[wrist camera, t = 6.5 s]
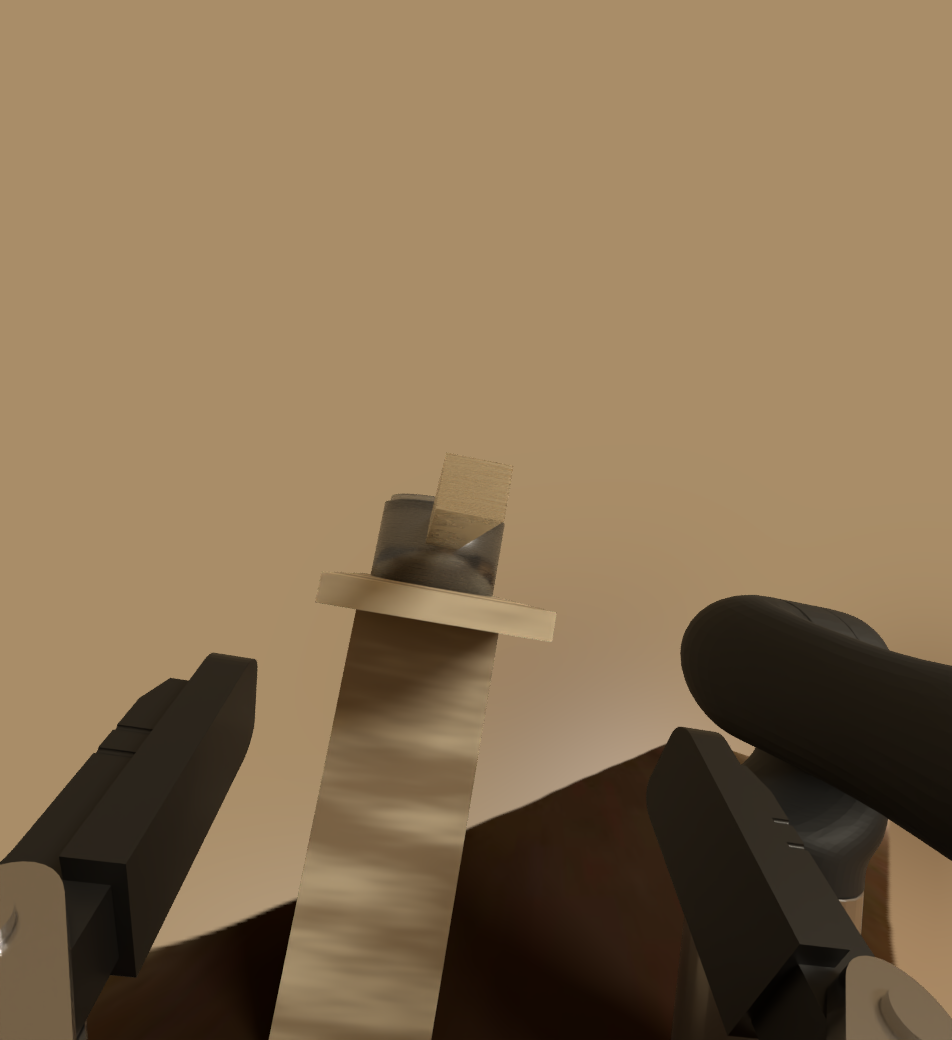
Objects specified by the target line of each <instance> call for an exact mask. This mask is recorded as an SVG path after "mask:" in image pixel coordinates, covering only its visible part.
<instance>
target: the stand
mask: <svg viewBox="0 0 952 1040" xmlns="http://www.w3.org/2000/svg"><path fill="white" fill-rule="evenodd" d="M315 602H316V603H322V604H328V605H334V606H340V607H346V608H352V609H356V613H355V618H354V623H353V628H352V633H351V638H350V643H349V648H348V653H347V658H346V662H345V667H344V672H343V677H342V682H341V687H340V692H339V697H338V702H337V707H336V712H335V717H334V721H333V726H332V731H331V737H330V741H329V746H328V751H327V756H326V761H325V766H324V771H323V776H322V781H321V786H320V790H319V795H318V800H317V805H316V810H315V815H314V820H313V825H312V830H311V835H310V839H309V844H308V849H307V854H306V859H305V864H304V869H303V874H302V879H301V884H300V889H299V893H298V898H297V903H296V908H295V913H294V918H293V923H292V928H291V933H290V938H289V943H288V948H287V952H286V957H285V962H284V967H283V972H282V977H281V982H280V987H279V992H278V997H277V1002H276V1007H275V1011H274V1016H273V1021H272V1026H271V1031H270V1036H269V1040H431V1037H432V1031H433V1025H434V1019H435V1013H436V1007H437V1001H438V995H439V989H440V983H441V977H442V971H443V965H444V959H445V953H446V947H447V941H448V935H449V929H450V923H451V917H452V911H453V904H454V898H455V892H456V886H457V880H458V874H459V868H460V862H461V856H462V850H463V844H464V838H465V832H466V826H467V820H468V814H469V808H470V802H471V795H472V789H473V784H474V778H475V772H476V766H477V760H478V753H479V748H480V741H481V736H482V730H483V724H484V717H485V711H486V705H487V699H488V693H489V687H490V681H491V675H492V669H493V663H494V657H495V651H496V645H497V639H498V633H501V634H507V635H513V636H519V637H524V638H531V639H536V640H542V641H548V642H552V639H553V633H554V626H555V620H556V613H555V612H552V611H548V610H544V609H540V608H537V607H533V606H529V605H525V604H522V603H518V602H514V601H510V600H507V599H503V598H499V597H495V596H492V597H488V596H481V595H475V594H469V593H463V592H457V591H451V590H445V589H439V588H433V587H428V586H422V585H417V584H411V583H406V582H400V581H395V580H389V579H384V578H379V577H374V576H371V574H365V573H337V572H322V573H321V578H320V582H319V587H318V592H317V596H316V601H315Z"/></svg>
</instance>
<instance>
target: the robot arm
mask: <svg viewBox="0 0 952 1040" xmlns="http://www.w3.org/2000/svg"><path fill="white" fill-rule="evenodd" d="M680 654H681V666H682V670H683V674H684V677H685V681H686V683H687V685H688V688H689V690H690V692H691V694H692V696H693V697H694V699H695V701H696V702H697V704H698V705H699V706H700V708H701V709H702V710H703V711H704V712H705V714H706V715H707V716H708V717H709V718H710V719H711V720H712V721H713V722H714V723H715V724H716V725H717V726H719V727H720V728H721V729H723V730H724V731H726V732H727V733H729V734H731V735H732V736H734V737H736V738H738V739H740V740H742V741H744V742H746V743H748V744H750V745H752V746H754V747H756V748H755V750H754V751H753V753H752V754H751V755H750V757H749V758H748V759H747V760H746V761H745V762H744V763H743V764H741V765H740V763H739V761H738V760H737V758H736V756H735V755H734V753H733V751H732V750H731V748H730V746H729V745H728V743H727V741H726V740H725V738H724V737H723V736H722V735H721V734H719V733H716V732H711V731H705V730H698V729H692V728H685V727H678V728H676V729H675V730H674V731H673V732H672V734H671V736H670V738H669V740H668V742H667V744H666V746H665V748H664V750H663V752H662V754H661V757H660V759H659V761H658V763H657V765H656V767H655V769H654V771H653V773H652V775H651V777H650V779H649V782H648V786H647V794H646V800H647V809H648V814H649V817H650V820H651V823H652V826H653V828H654V831H655V834H656V837H657V840H658V843H659V845H660V848H661V851H662V854H663V857H664V859H665V862H666V865H667V868H668V871H669V873H670V876H671V879H672V882H673V885H674V887H675V890H676V893H677V896H678V899H679V901H680V904H681V907H682V910H683V913H684V925H683V934H682V943H681V952H680V961H679V970H678V979H677V988H676V997H675V1006H674V1015H673V1024H672V1033H671V1040H952V1019H951V1017H950V1016H949V1015H948V1014H947V1012H946V1011H945V1010H944V1008H943V1007H942V1006H941V1005H940V1004H939V1003H938V1002H937V1001H936V999H935V998H934V997H933V996H932V995H931V994H930V993H929V992H928V991H927V990H926V989H925V988H924V987H922V986H921V985H920V984H919V983H918V982H917V981H915V980H914V979H913V978H912V977H910V976H909V975H908V974H906V973H905V972H903V971H902V970H901V969H899V968H897V967H896V966H894V965H892V964H890V963H888V962H886V961H884V960H882V959H879V958H876V957H875V956H874V955H873V953H872V952H871V950H870V949H869V947H868V946H867V944H866V942H865V941H864V939H863V938H862V936H861V925H862V911H863V896H864V885H865V874H866V868H867V865H868V862H869V860H870V859H871V857H872V856H873V854H874V853H875V851H876V850H877V848H878V847H879V845H880V844H881V841H882V839H883V837H884V834H885V830H886V826H887V821H888V819H889V820H891V821H892V822H894V823H895V824H897V825H899V826H900V827H902V828H903V829H905V830H906V831H908V832H909V833H911V834H912V835H914V836H915V837H917V838H918V839H920V840H921V841H923V842H924V843H926V844H927V845H929V846H930V847H932V848H933V849H935V850H937V851H938V852H939V853H941V854H942V855H944V856H945V857H947V858H948V859H950V860H951V861H952V666H950V665H945V664H940V663H936V662H931V661H926V660H922V659H918V658H914V657H911V656H907V655H903V654H899V653H896V652H893V651H890V650H889V649H888V647H887V646H886V644H885V642H884V641H883V639H882V638H881V637H880V636H879V634H878V633H877V632H876V631H875V630H874V629H872V628H871V627H870V626H869V625H868V624H866V623H865V622H863V621H862V620H860V619H858V618H856V617H854V616H851V615H849V614H846V613H843V612H839V611H835V610H831V609H827V608H822V607H817V606H811V605H807V604H802V603H797V602H792V601H787V600H781V599H777V598H771V597H766V596H759V595H741V596H733V597H730V598H725V599H721V600H719V601H716V602H714V603H712V604H710V605H709V606H707V607H706V608H704V609H703V610H702V611H700V612H699V613H698V614H697V615H696V616H695V617H694V619H693V620H692V621H691V622H690V624H689V626H688V627H687V629H686V631H685V633H684V636H683V639H682V644H681V653H680ZM256 684H257V661H256V660H255V659H251V658H244V657H238V656H231V655H225V654H218V653H211V654H209V655H208V656H207V657H206V659H205V660H204V661H203V663H202V664H201V665H200V667H199V668H198V669H197V671H196V672H195V673H194V675H193V676H192V677H191V679H190V680H189V681H187V680H180V679H174V678H170V679H168V680H167V681H165V682H163V683H162V684H160V685H159V686H157V687H156V688H154V689H153V690H151V691H150V692H148V693H146V694H145V695H143V696H142V697H140V698H139V699H138V700H137V702H136V703H135V704H134V705H133V707H132V708H131V709H130V710H129V711H128V712H127V714H126V715H125V716H124V717H123V718H122V720H121V721H120V722H119V723H118V724H117V728H116V730H112V732H111V733H110V734H109V735H108V736H107V738H106V739H105V740H104V741H103V742H102V744H101V745H100V746H99V748H98V751H97V752H96V753H93V754H92V755H91V757H90V758H89V759H88V760H87V762H86V763H85V764H84V765H83V766H82V767H81V769H80V770H79V771H78V772H77V773H76V775H75V776H74V777H73V778H72V779H71V781H70V782H69V783H68V784H67V785H66V787H65V788H64V789H63V790H62V791H61V793H60V794H59V795H58V796H57V797H56V799H55V800H54V801H53V802H52V803H51V805H50V806H49V807H48V808H47V809H46V811H45V812H44V813H43V814H42V815H41V817H40V818H39V819H38V820H37V821H36V823H35V824H34V825H33V826H32V827H31V829H30V830H29V831H28V832H27V833H26V835H25V836H24V837H23V838H22V840H21V841H20V842H19V843H18V844H17V845H16V846H15V848H14V849H13V850H12V851H11V852H10V853H9V854H8V855H7V856H6V857H5V858H4V859H3V860H2V861H1V862H0V1040H88V1036H87V1022H86V1019H87V1017H88V1015H89V1013H90V1011H91V1009H92V1007H93V1006H94V1004H95V1002H96V1000H97V998H98V996H99V994H100V993H101V991H102V989H103V987H104V985H105V983H106V981H107V979H108V978H109V976H110V975H115V976H126V977H137V975H138V973H139V971H140V969H141V967H142V965H143V963H144V961H145V959H146V957H147V955H148V953H149V951H150V949H151V947H152V945H153V943H154V940H155V938H156V937H157V934H158V933H159V930H160V928H161V926H162V924H163V922H164V920H165V918H166V916H167V914H168V912H169V910H170V908H171V906H172V904H173V902H174V900H175V898H176V896H177V894H178V892H179V890H180V888H181V886H182V884H183V882H184V880H185V878H186V876H187V874H188V872H189V870H190V868H191V865H192V863H193V861H194V859H195V857H196V855H197V853H198V851H199V849H200V847H201V845H202V843H203V841H204V839H205V837H206V835H207V833H208V831H209V829H210V827H211V825H212V823H213V821H214V819H215V817H216V815H217V813H218V811H219V808H220V807H221V804H222V803H223V800H224V798H225V796H226V794H227V792H228V790H229V788H230V786H231V784H232V782H233V780H234V778H235V776H236V774H237V772H238V770H239V768H240V766H241V764H242V762H243V760H244V757H245V755H246V753H247V750H248V747H249V744H250V741H251V737H252V733H253V729H254V721H255V704H256Z"/></svg>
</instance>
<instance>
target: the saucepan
mask: <svg viewBox="0 0 952 1040" xmlns="http://www.w3.org/2000/svg"><path fill="white" fill-rule="evenodd" d="M512 471H513V466H510V465H506V464H501V463H495V462H491V461H486V460H480V459H476V458H470V457H466V456H460V455H456V454H451V453H446V457H445V460H444V465H443V469H442V472H441V477H440V480H439V484H438V488H437V493H436V496H435V497H434V496H427V495H417V494H396V495H392V497H391V500H390V501H386V502H385V506H384V512H383V516H382V521H381V527H380V531H379V536H378V542H377V546H376V551H375V556H374V561H373V566H372V571H371V576H374V577H379V578H384V579H389V580H395V581H400V582H406V583H411V584H417V585H422V586H428V587H433V588H439V589H445V590H451V591H457V592H463V593H469V594H475V595H481V596H488V597H492V596H493V590H494V584H495V577H496V572H497V565H498V560H499V554H500V548H501V542H502V535H503V530H504V523H503V522H504V518H505V512H506V507H507V500H508V494H509V489H510V483H511V476H512Z"/></svg>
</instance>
